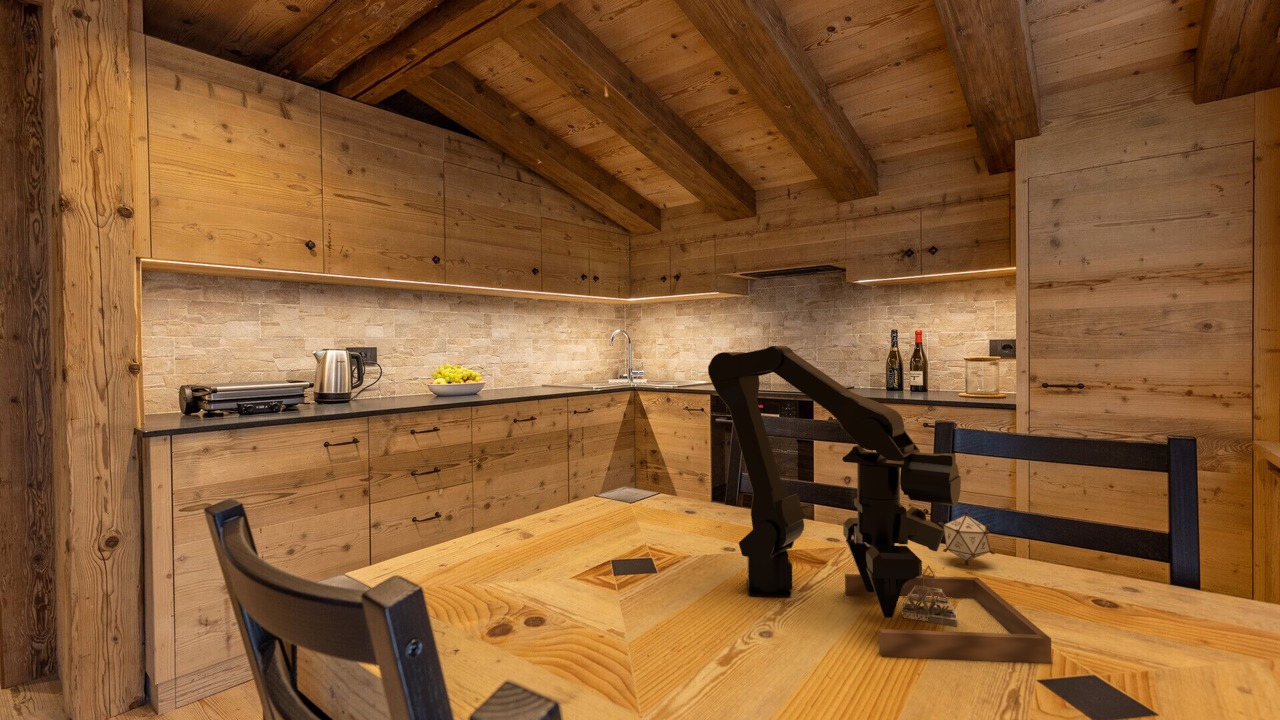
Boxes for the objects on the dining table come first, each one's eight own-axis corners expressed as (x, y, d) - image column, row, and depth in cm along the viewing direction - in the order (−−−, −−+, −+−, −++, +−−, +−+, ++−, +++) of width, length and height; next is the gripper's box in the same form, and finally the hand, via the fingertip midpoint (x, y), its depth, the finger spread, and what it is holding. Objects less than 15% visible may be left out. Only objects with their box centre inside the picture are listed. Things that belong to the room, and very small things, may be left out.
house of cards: (968, 608, 94) (968, 557, 94) (971, 632, 86) (970, 576, 86) (903, 598, 98) (903, 549, 98) (900, 620, 90) (899, 567, 90)
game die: (1001, 576, 106) (1001, 517, 106) (947, 573, 108) (947, 515, 108) (984, 559, 115) (983, 504, 115) (934, 556, 117) (934, 503, 116)
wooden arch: (881, 656, 79) (881, 632, 79) (845, 592, 100) (844, 574, 99) (1051, 663, 76) (1051, 638, 76) (977, 596, 97) (977, 577, 97)
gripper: (963, 513, 80) (964, 635, 80) (915, 482, 98) (915, 582, 99) (873, 511, 81) (874, 631, 81) (842, 481, 100) (842, 579, 100)
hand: (878, 603), depth 90 cm, fingers open, 9 cm apart
